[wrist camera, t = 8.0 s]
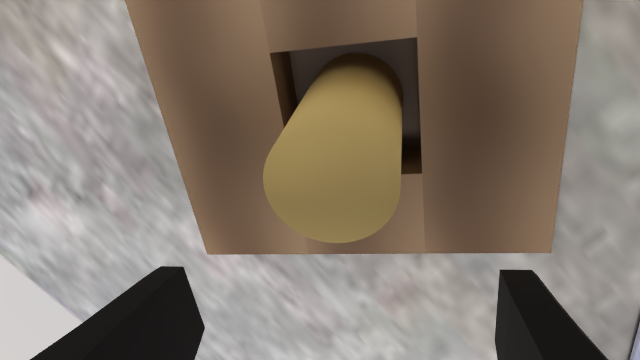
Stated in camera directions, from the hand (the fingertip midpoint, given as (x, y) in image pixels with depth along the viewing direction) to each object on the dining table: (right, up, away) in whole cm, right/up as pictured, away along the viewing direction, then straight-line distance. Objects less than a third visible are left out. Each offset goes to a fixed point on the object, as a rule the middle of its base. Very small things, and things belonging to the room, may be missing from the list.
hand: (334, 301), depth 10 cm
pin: (+1, +6, +7) cm, 10 cm away
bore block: (+1, +6, +8) cm, 10 cm away
